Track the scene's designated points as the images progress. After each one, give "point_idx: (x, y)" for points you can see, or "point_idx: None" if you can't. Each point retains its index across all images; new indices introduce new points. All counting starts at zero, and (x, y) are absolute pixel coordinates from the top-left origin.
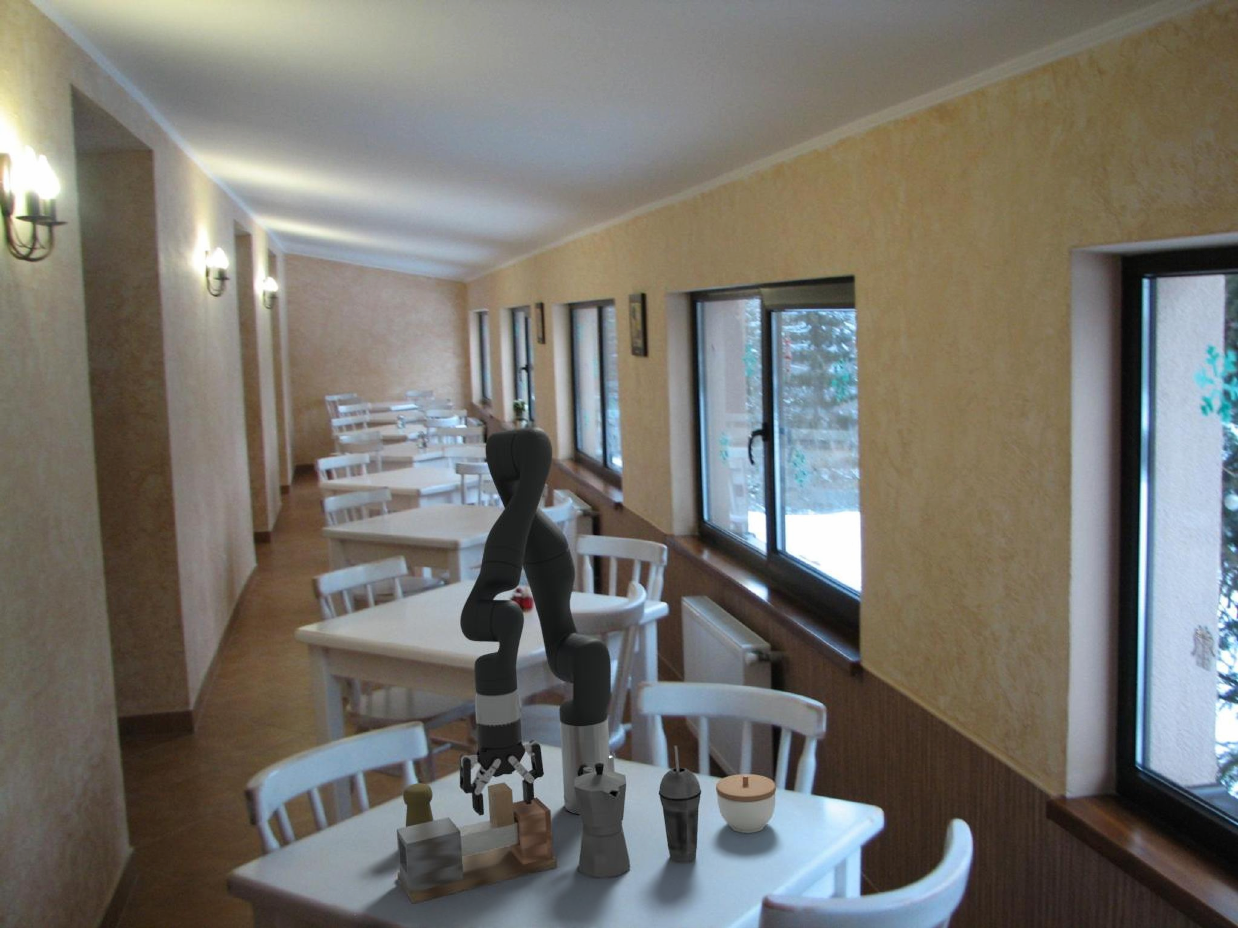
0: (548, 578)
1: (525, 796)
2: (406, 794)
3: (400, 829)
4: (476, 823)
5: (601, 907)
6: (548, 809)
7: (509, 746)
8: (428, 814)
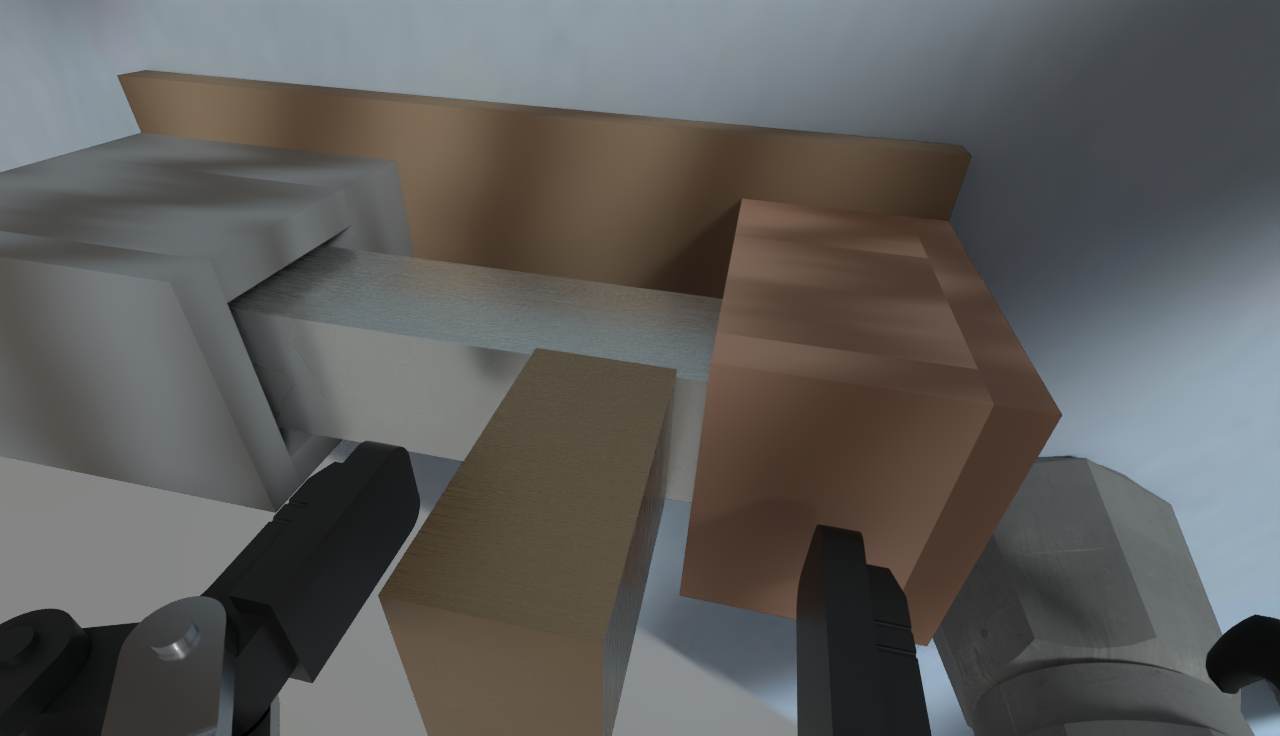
0: None
1: (808, 612)
2: None
3: None
4: (428, 341)
5: (794, 674)
6: (926, 627)
7: None
8: None
